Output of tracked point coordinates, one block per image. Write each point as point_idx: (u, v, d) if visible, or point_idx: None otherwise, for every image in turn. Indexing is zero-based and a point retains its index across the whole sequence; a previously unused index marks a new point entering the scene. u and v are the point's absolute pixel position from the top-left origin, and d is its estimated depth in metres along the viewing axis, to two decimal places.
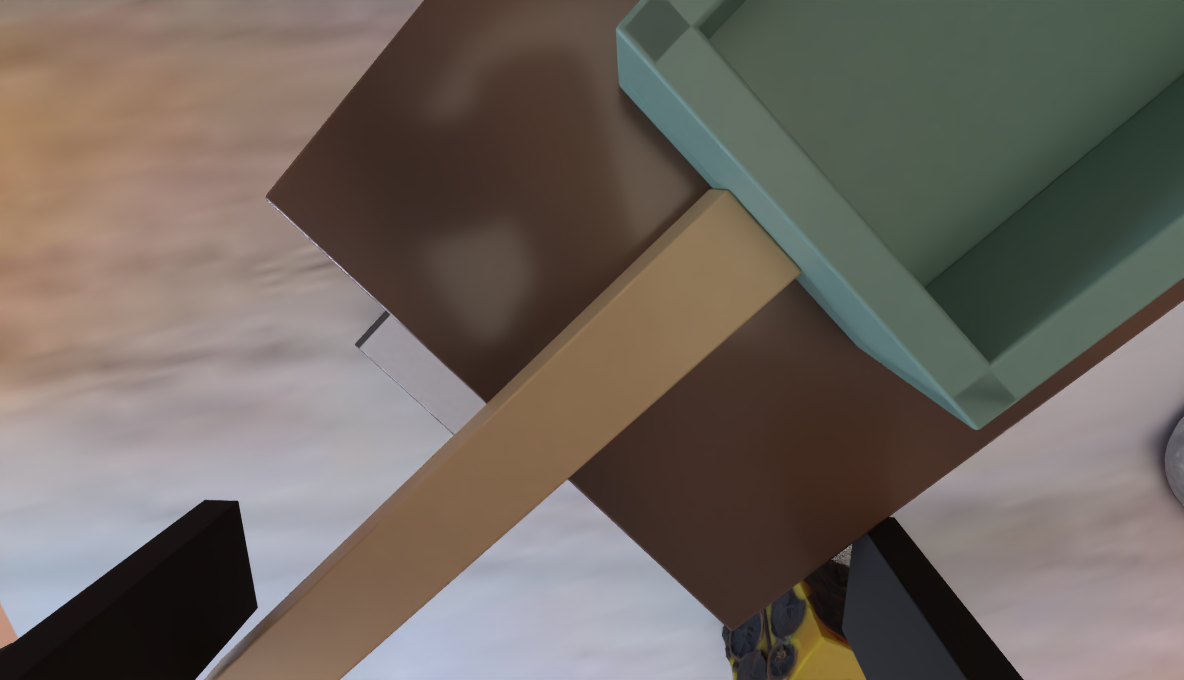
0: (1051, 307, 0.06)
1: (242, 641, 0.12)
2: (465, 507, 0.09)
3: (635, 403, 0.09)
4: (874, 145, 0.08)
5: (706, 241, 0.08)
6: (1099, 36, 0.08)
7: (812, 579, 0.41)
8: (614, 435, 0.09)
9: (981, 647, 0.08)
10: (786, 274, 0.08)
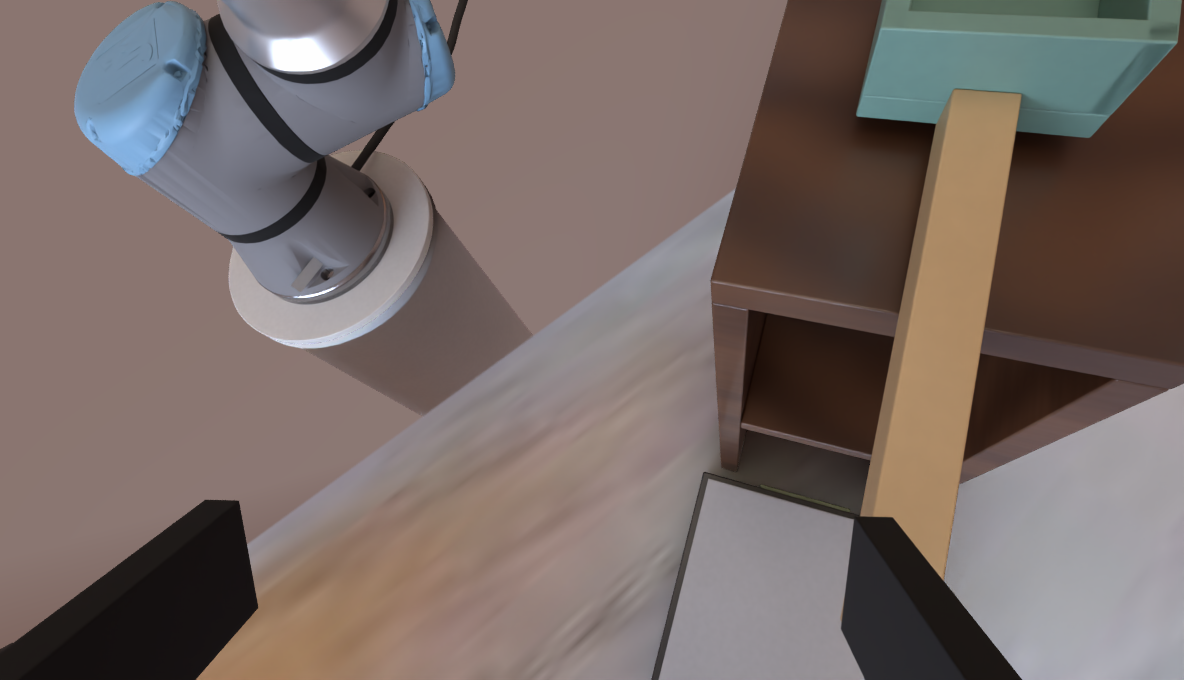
0: None
1: None
2: (948, 313, 0.14)
3: (996, 197, 0.15)
4: None
5: (963, 111, 0.15)
6: None
7: None
8: (1000, 219, 0.14)
9: (979, 646, 0.08)
10: (1015, 98, 0.15)
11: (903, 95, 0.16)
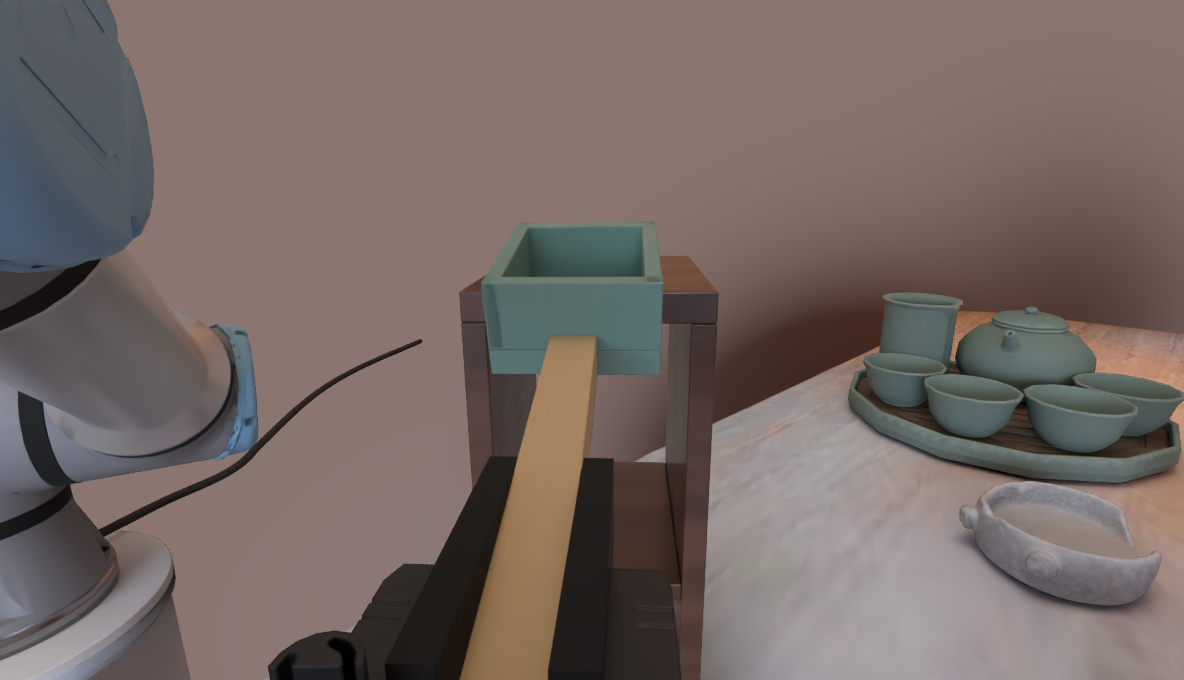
0: (643, 270, 0.20)
1: None
2: (551, 451, 0.14)
3: (584, 382, 0.17)
4: None
5: (557, 344, 0.19)
6: None
7: None
8: (588, 393, 0.17)
9: (597, 540, 0.11)
10: (591, 336, 0.20)
11: (518, 346, 0.20)
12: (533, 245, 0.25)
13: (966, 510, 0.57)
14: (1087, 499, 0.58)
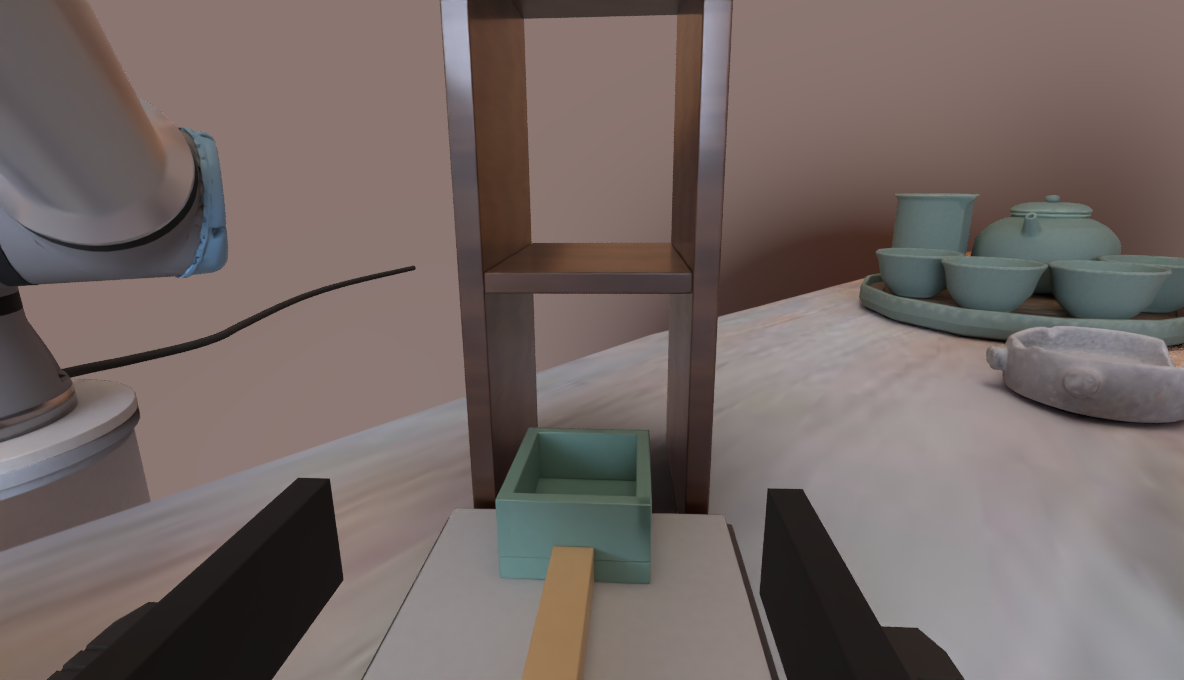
0: (635, 487, 0.23)
1: None
2: (549, 678, 0.17)
3: (581, 601, 0.20)
4: None
5: (559, 556, 0.22)
6: None
7: None
8: (584, 613, 0.19)
9: (848, 594, 0.10)
10: (589, 549, 0.22)
11: (525, 554, 0.23)
12: (542, 447, 0.29)
13: (994, 348, 0.53)
14: (1124, 338, 0.53)
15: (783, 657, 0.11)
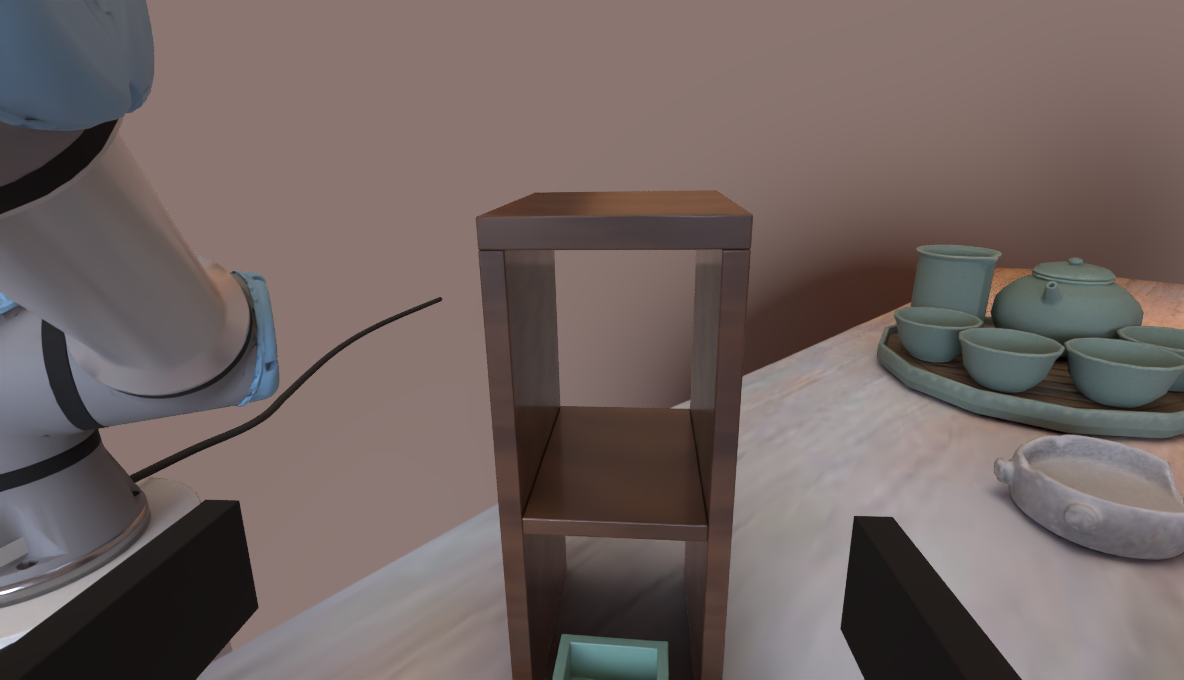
0: None
1: None
2: None
3: None
4: None
5: None
6: None
7: None
8: None
9: (979, 646, 0.08)
10: None
11: None
12: (573, 654, 0.33)
13: (1001, 463, 0.55)
14: (1131, 453, 0.55)
15: None
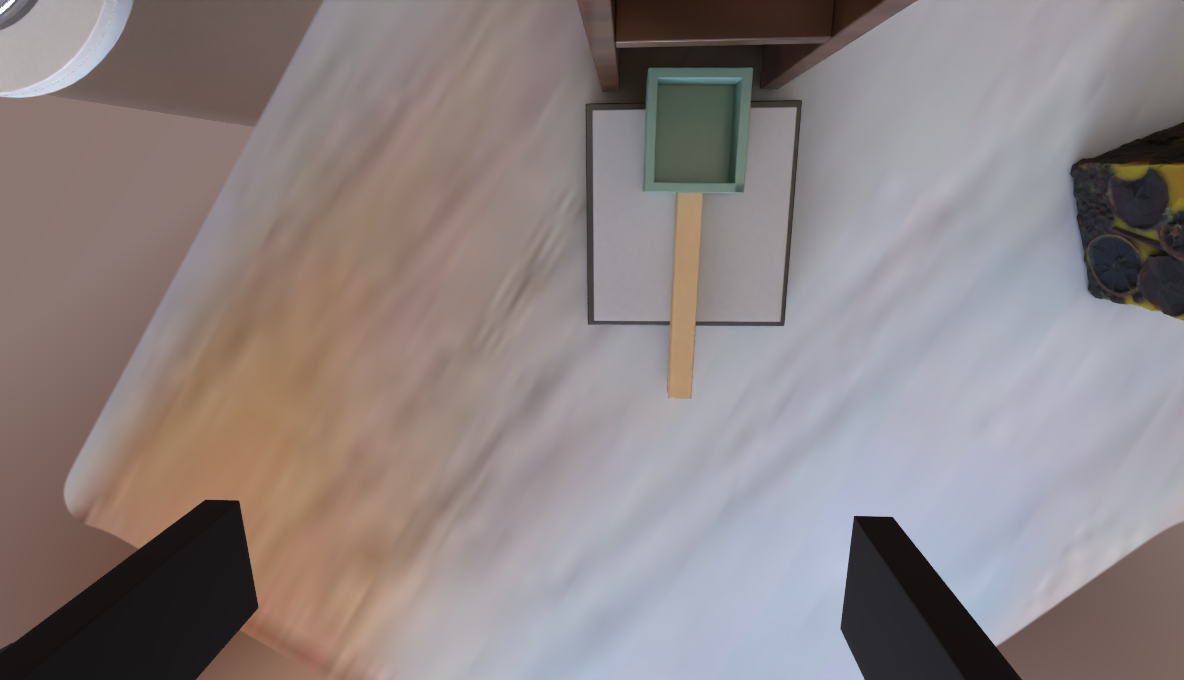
0: (735, 167, 0.35)
1: None
2: (685, 290, 0.39)
3: (697, 241, 0.38)
4: (695, 161, 0.37)
5: (682, 203, 0.37)
6: (714, 112, 0.36)
7: None
8: (699, 250, 0.38)
9: (979, 646, 0.08)
10: (700, 195, 0.37)
11: None
12: (660, 81, 0.35)
13: None
14: None
15: None
